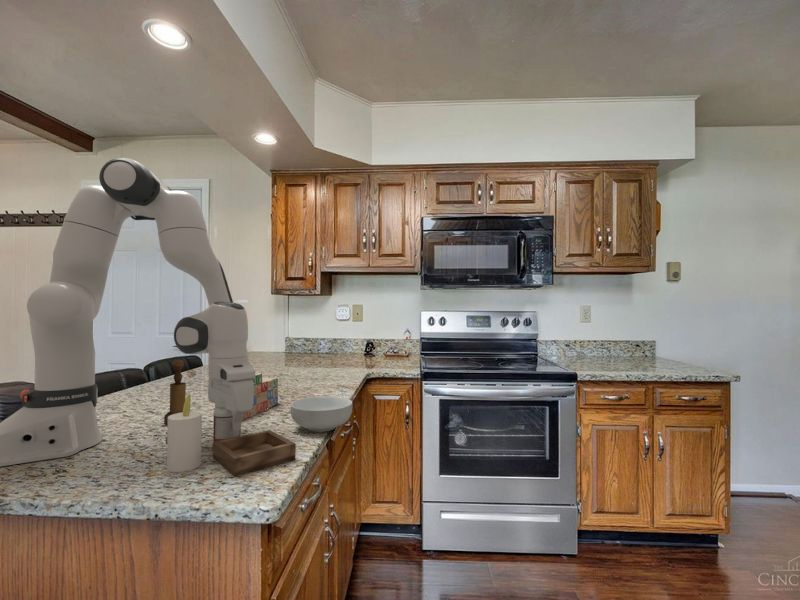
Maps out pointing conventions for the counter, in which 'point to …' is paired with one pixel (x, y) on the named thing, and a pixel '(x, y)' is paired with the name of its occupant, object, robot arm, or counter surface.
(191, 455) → the candle
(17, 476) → the counter surface
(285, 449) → the tray
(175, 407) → the brown knobbed cylinder
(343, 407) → the cereal bowl
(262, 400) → the stack of blocks
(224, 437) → the pill bottle
